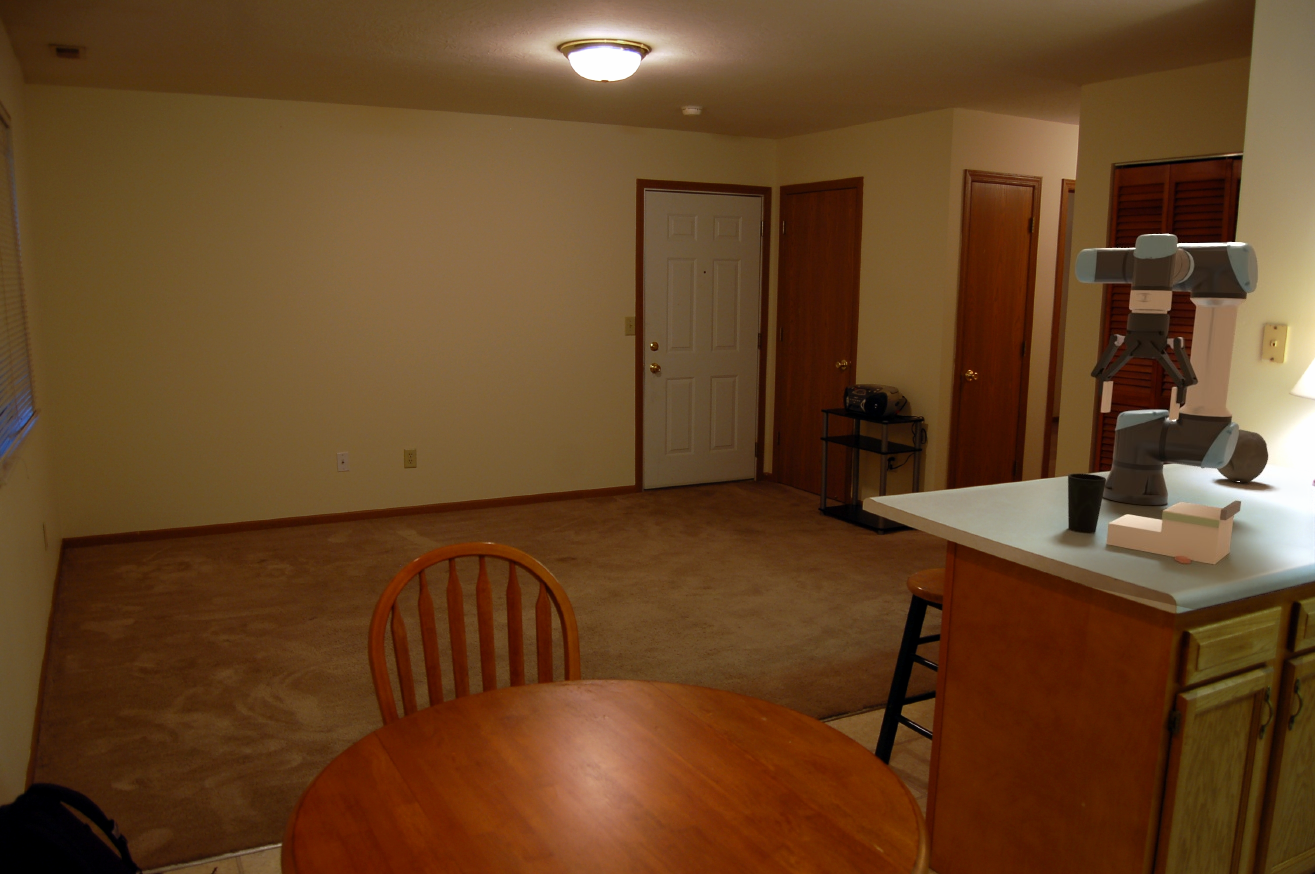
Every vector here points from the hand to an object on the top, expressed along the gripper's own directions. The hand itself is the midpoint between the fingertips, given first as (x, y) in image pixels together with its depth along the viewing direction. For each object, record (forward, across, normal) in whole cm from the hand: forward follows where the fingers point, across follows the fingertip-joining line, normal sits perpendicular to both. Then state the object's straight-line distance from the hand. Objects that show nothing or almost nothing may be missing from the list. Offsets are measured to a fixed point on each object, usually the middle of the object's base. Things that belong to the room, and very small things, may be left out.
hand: (1138, 416), depth 191 cm
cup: (+27, -11, +4) cm, 30 cm away
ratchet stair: (+27, +8, +1) cm, 28 cm away
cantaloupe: (+27, -12, +98) cm, 103 cm away
